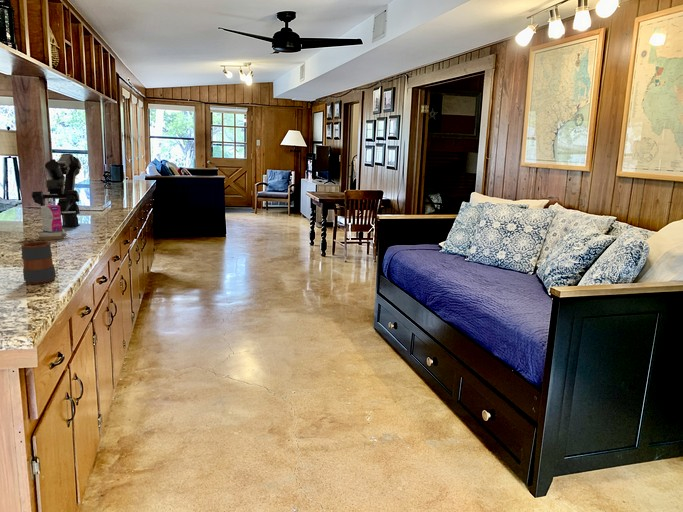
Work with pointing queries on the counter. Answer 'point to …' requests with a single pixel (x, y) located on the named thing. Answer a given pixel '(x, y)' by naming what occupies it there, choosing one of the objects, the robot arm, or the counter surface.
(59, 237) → the pedestal
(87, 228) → the counter surface
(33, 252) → the banded dark cylinder
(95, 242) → the counter surface
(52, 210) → the supplement box
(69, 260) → the counter surface
